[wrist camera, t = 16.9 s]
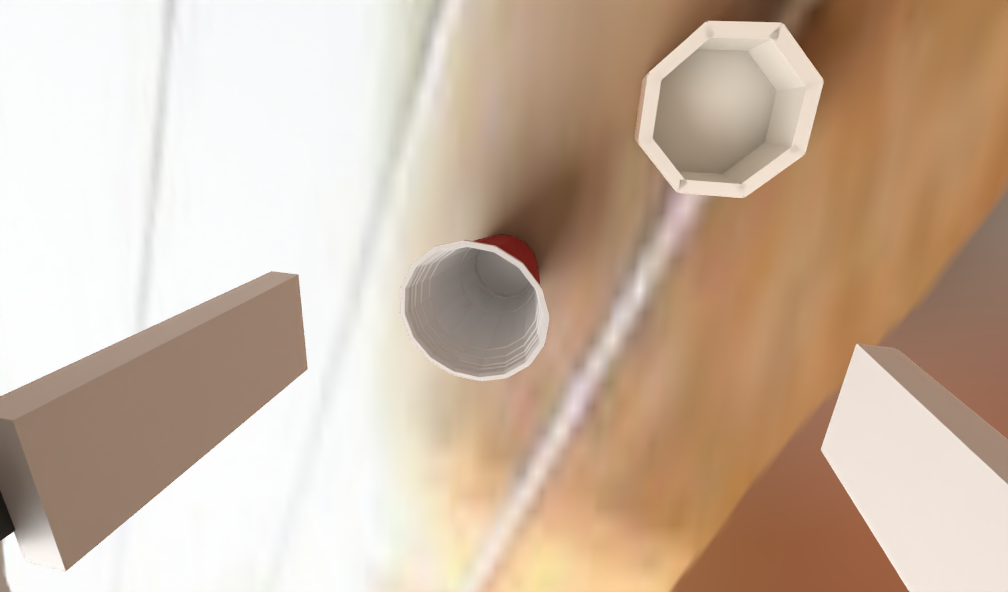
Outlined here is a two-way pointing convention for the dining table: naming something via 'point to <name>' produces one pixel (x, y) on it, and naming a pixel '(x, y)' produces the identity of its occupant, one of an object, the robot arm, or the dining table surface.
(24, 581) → the dining table surface
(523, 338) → the plastic cup
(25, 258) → the dining table surface
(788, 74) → the bowl
